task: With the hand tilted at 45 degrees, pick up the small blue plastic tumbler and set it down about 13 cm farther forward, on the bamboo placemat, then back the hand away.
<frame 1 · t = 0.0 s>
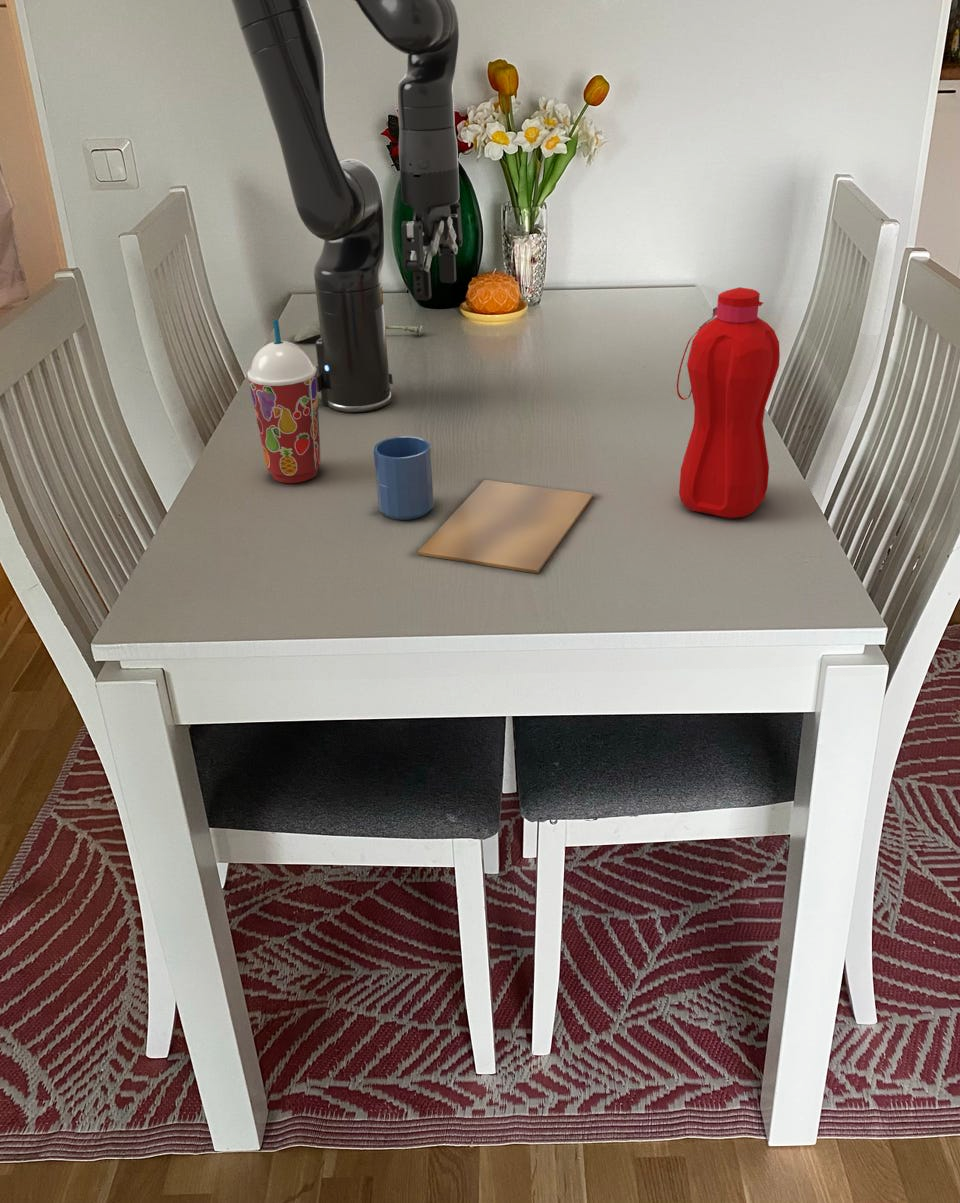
hand: (435, 290, 155), 17 cm above the table, tool pointing down, fingers open, 8 cm apart
smoothie: (295, 476, 147), on the table
mat: (509, 524, 132), on the table
soupspoon: (358, 338, 196), on the table
blue plastic tumbler: (406, 509, 136), on the table
water bottle: (714, 503, 135), on the table
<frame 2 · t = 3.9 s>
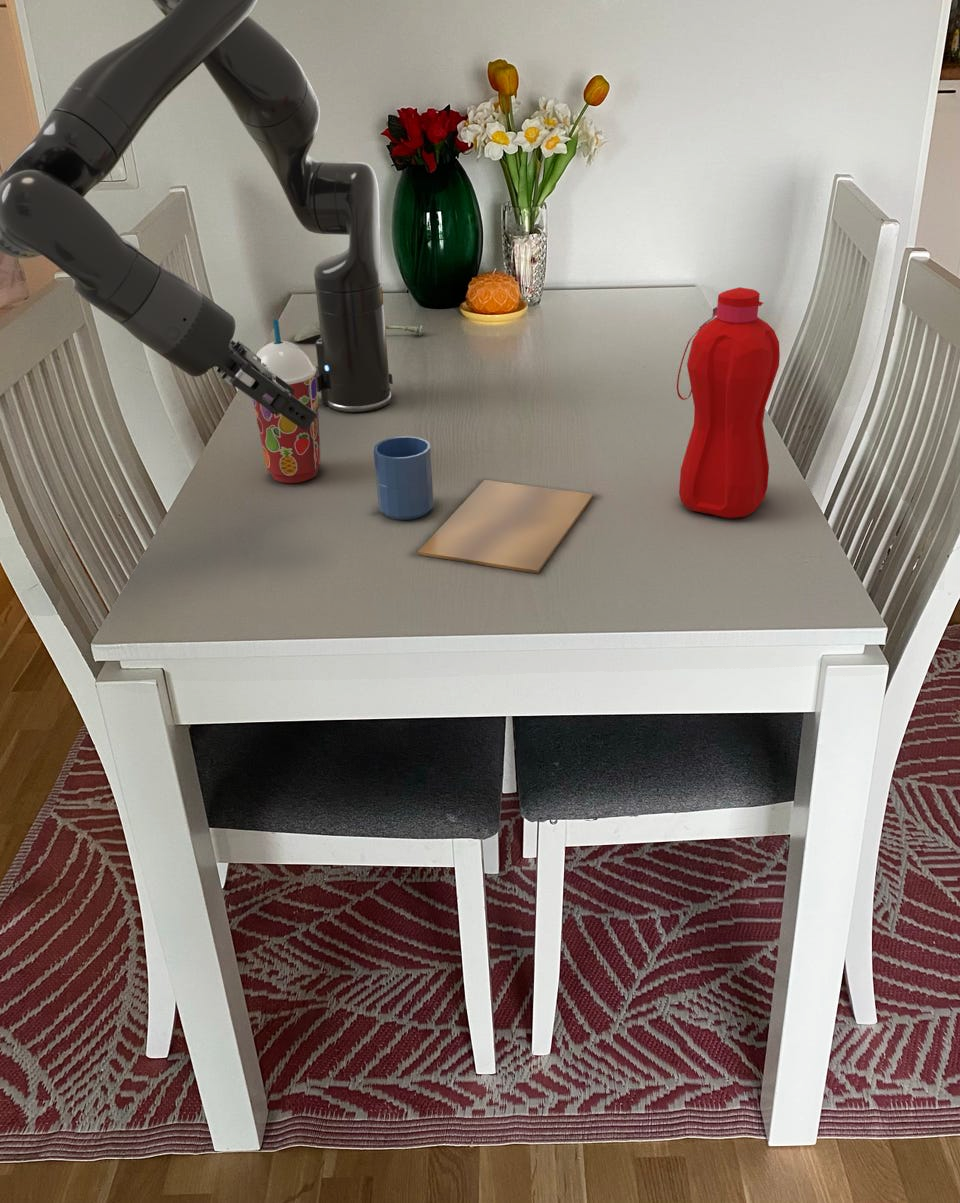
hand: (299, 409, 125), 15 cm above the table, tool tilted 45°, fingers open, 8 cm apart
nothing on the table moved.
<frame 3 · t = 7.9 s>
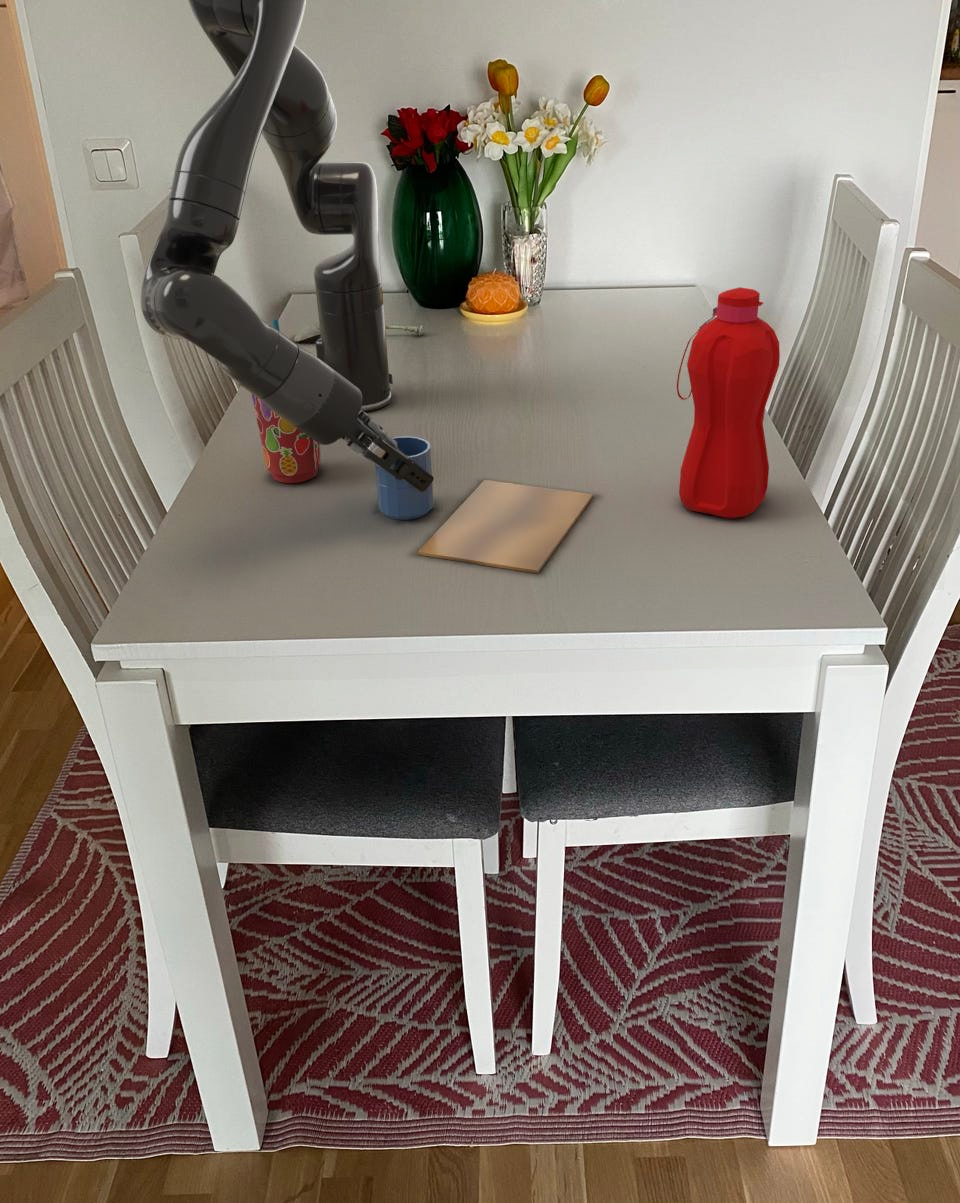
hand: (416, 473, 135), 4 cm above the table, tool tilted 45°, fingers closed on blue plastic tumbler, 6 cm apart
blue plastic tumbler: (406, 509, 136), on the table, touching gripper
everything else where it was.
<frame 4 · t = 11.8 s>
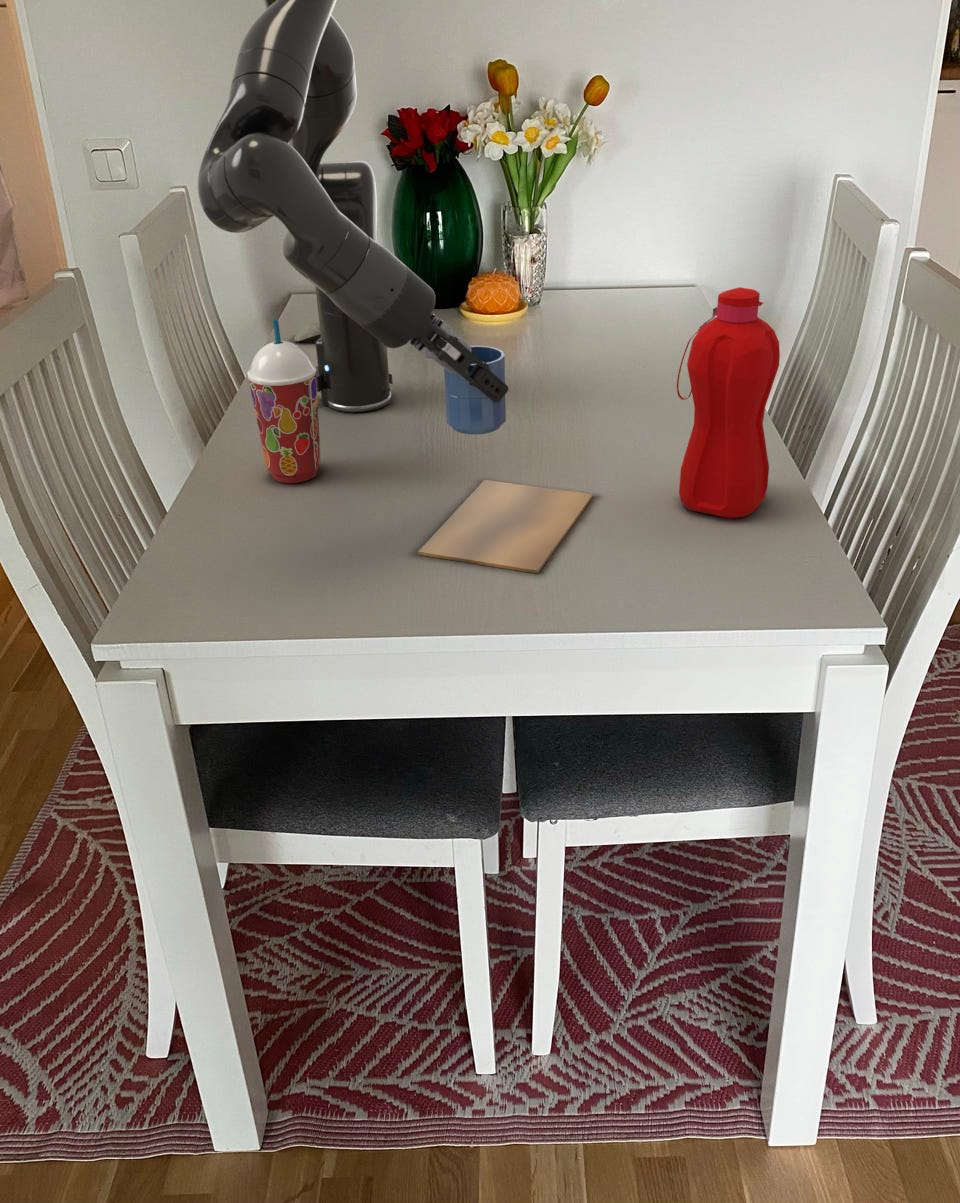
hand: (488, 384, 125), 16 cm above the table, tool tilted 45°, fingers closed on blue plastic tumbler, 6 cm apart
blue plastic tumbler: (476, 425, 127), point 12 cm above the table, touching gripper
everything else where it was.
when the fingers open (5 cm above the table, at t = 15.8 s): blue plastic tumbler stays where it is, resting on mat.
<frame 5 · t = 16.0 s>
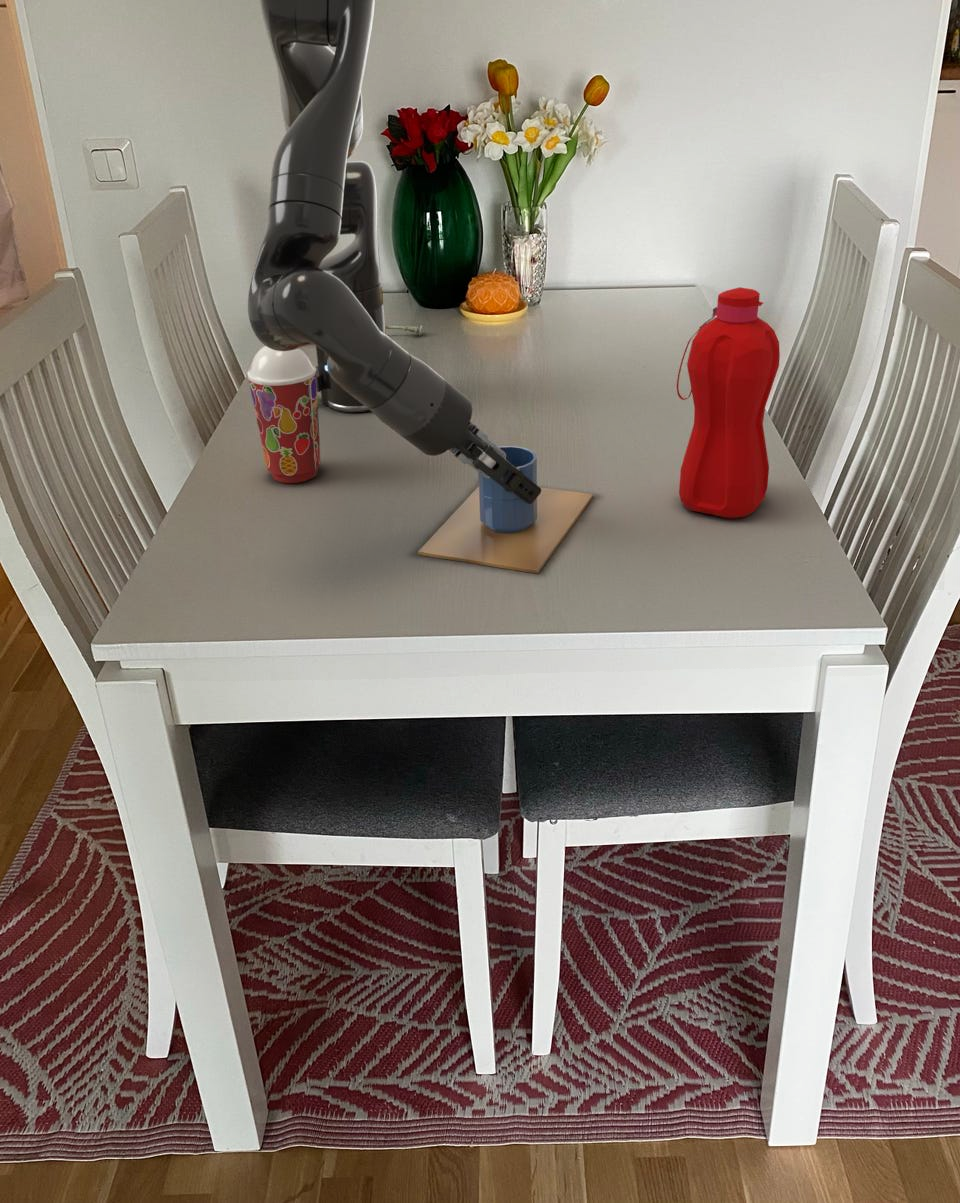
hand: (520, 483, 130), 5 cm above the table, tool tilted 45°, fingers open, 7 cm apart
blue plastic tumbler: (508, 521, 132), resting on mat
everything else where it was.
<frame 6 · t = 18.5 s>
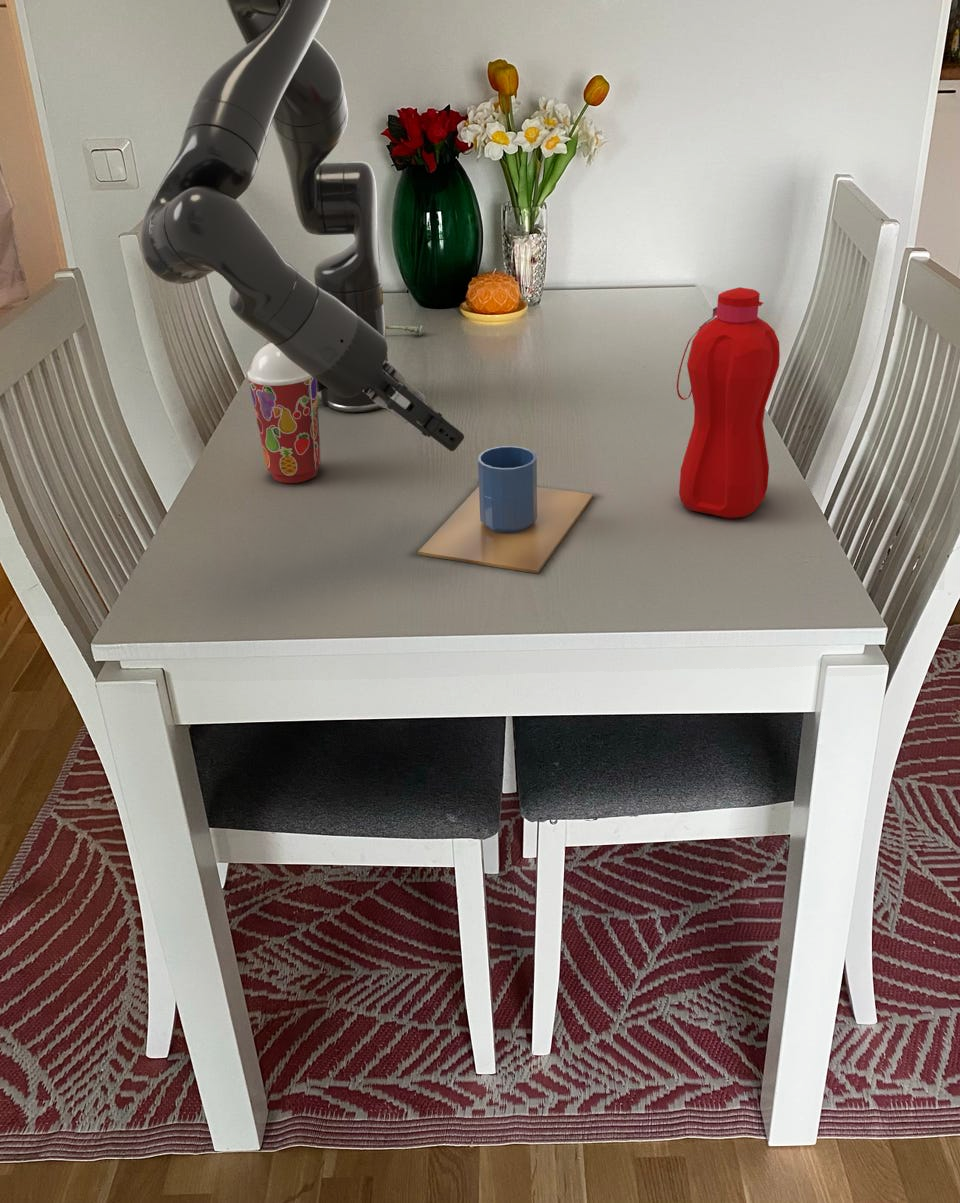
hand: (442, 429, 123), 13 cm above the table, tool tilted 45°, fingers open, 8 cm apart
nothing on the table moved.
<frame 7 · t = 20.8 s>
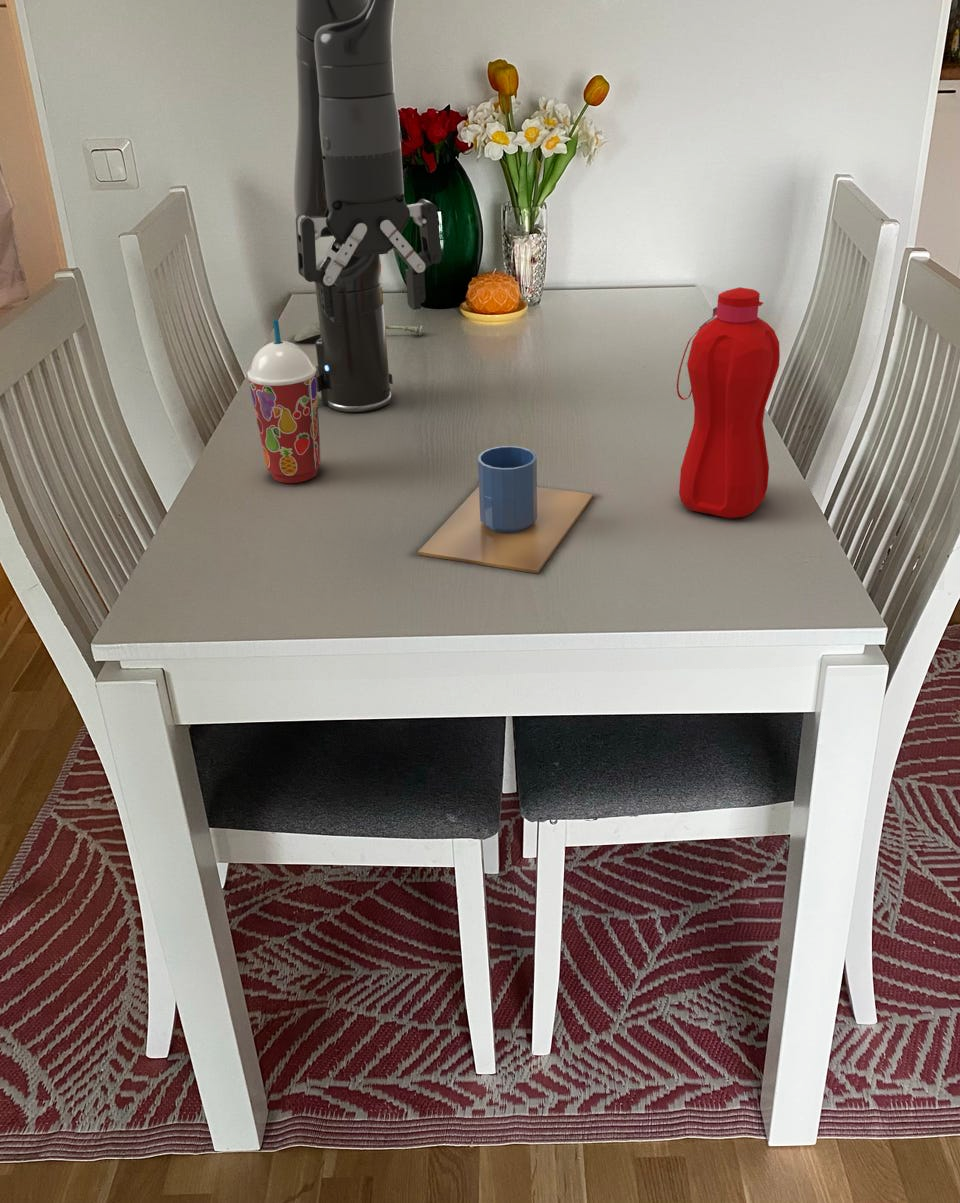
hand: (374, 313, 117), 26 cm above the table, tool pointing down, fingers open, 8 cm apart
nothing on the table moved.
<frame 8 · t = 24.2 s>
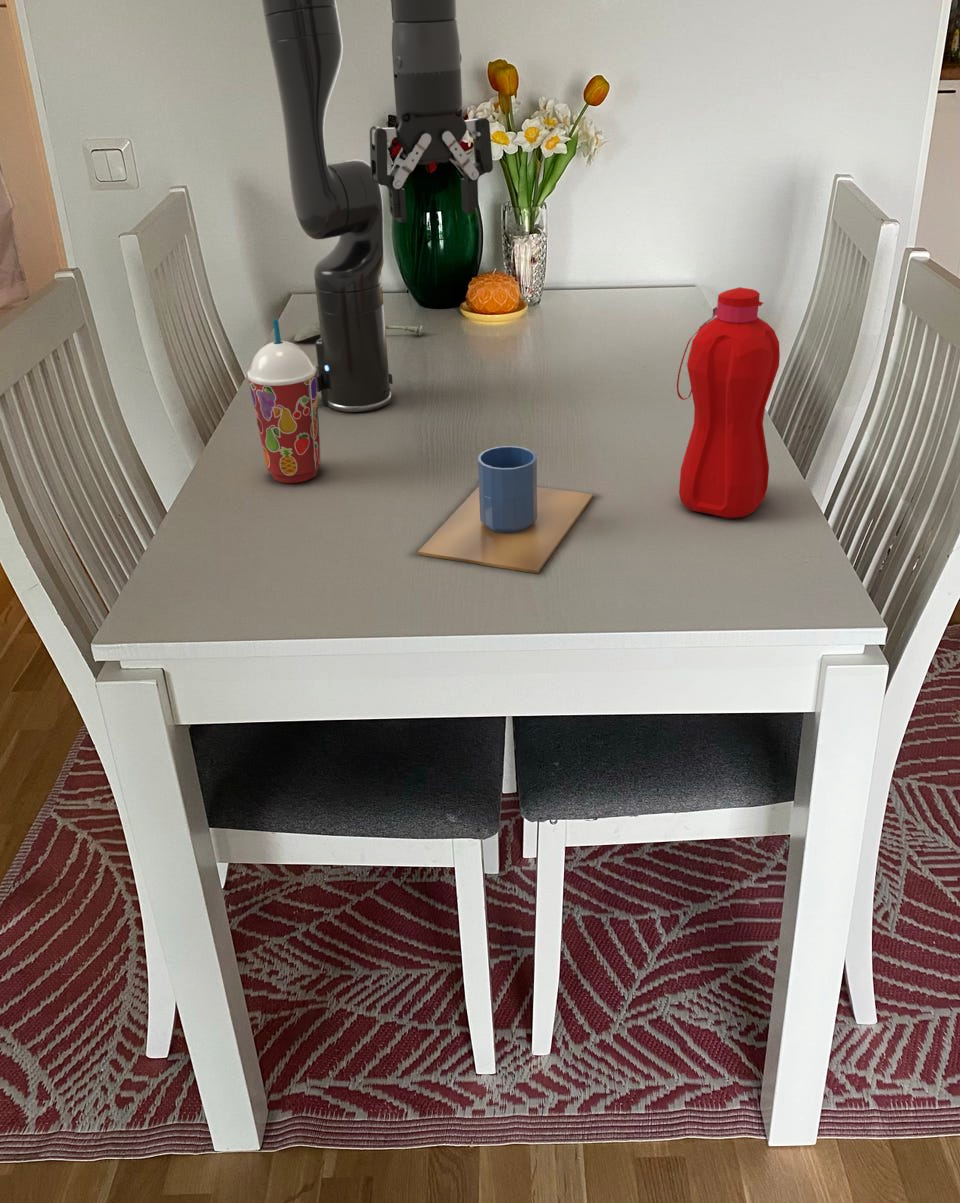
hand: (434, 216, 135), 30 cm above the table, tool pointing down, fingers open, 8 cm apart
nothing on the table moved.
at the end: blue plastic tumbler inside the target area on the mat (0.1 cm from its centre), point 0.4 cm above the mat's base; blue plastic tumbler tilted 0°; the gripper is holding nothing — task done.
